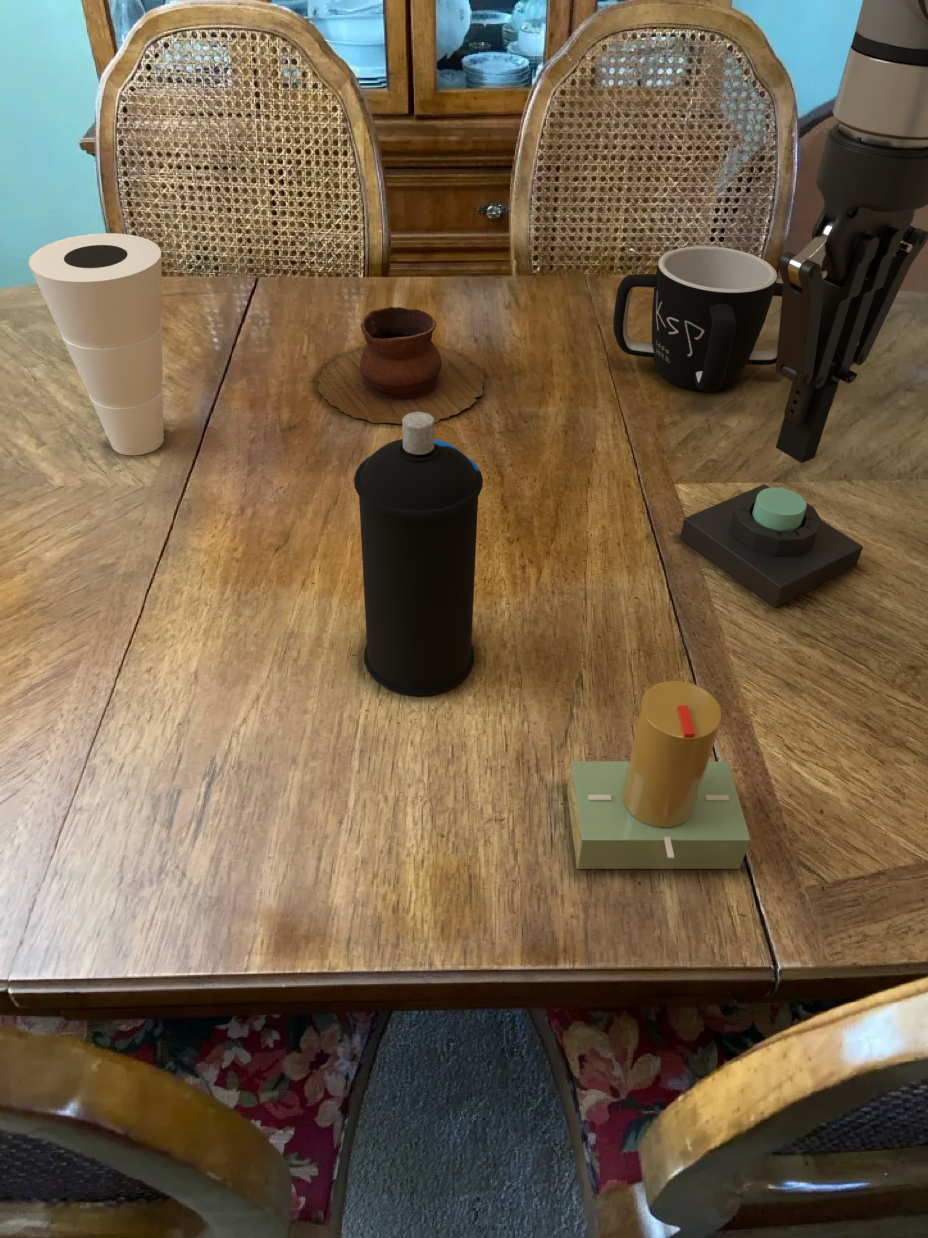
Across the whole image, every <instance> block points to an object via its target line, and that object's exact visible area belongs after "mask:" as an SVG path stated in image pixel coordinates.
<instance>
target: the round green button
mask: <svg viewBox="0 0 928 1238" xmlns="http://www.w3.org/2000/svg"><path fill="white" fill-rule="evenodd" d="M806 503H807V501H806V500H805V498H804V497H803V496H802V495H800V494H799V493H797V492H796V491H794V490H791V489H788V488H784V487H770V488H767V489H764V490H762V491H760V492H759V493H758V495H757V498H756V502H755V506H754V509H753V514H752V515H753V518H754V520H755V521H756V522H758V523H759V524H761V525H762V526H764V527H767V528H770V529H774V530H778V531H794V530H796V529H798V528H799V527H800V525H801V523H802V520H803V517H804V514H805V511H806V507H807V504H806Z"/></svg>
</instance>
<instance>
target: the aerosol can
mask: <svg viewBox="0 0 928 1238" xmlns="http://www.w3.org/2000/svg"><path fill="white" fill-rule="evenodd" d="M401 425H402V438H400V439H397V440H393V441H391V442H388V443H386V444H385V445H383V446H381V447H379V448H378V449H377V450H376V451H375V452H373V453H372V454H371V455H369V456H368V457H367V458H365V460H363V461H362V462H361V463H360V464H359V466H358V467H357V469H356V470H355V474H354V477H353V484H354V485H353V486H354V489H355V492H356V493H357V496H358V504H359V520H360V521H359V522H360V543H361V559H362V574H363V575H362V578H363V579H362V580H363V597H364V616H365V618H364V619H365V633H366V634H365V636H366V637H365V638H366V645H365V647H364V652H363V661H364V665H365V668H366V671H367V672H368V674H369V675H370V676H371V678H372V679H373V680H374V681H376V682H377V683H378V684H380V685H381V686H382V687H384V688H386V689H387V690H390V691H392V692H395V693H399V694H403V695H408V696H431V695H434V694H440V693H442V692H446V691H448V690H450V689H452V688H454V687H456V686H457V685H459V684H461V682H463V681H464V680H465V679H466V678H467V676H468V675H469V674H470V672H471V671H472V668H473V666H474V663H475V655H476V654H475V649H474V646H473V643H472V641H473V620H474V600H475V599H474V597H475V575H476V574H475V573H476V553H477V551H476V550H477V534H478V533H477V532H478V531H477V530H478V528H477V527H478V510H479V496H480V494H481V492H482V490H483V487H484V478H483V475H482V474H483V473H482V471H481V469H480V468H479V466H478V464H476V463H475V462H474V461H473V460H472V458H469V457H468V456H466V454H465V453H463V452H462V451H461V450H459V449H458V448H457V447H456V446H454V445H452V444H450V443H449V442H446V441H443V440H441V439H436V438H435V423H434V418H433V417H432V416H431V415H430V414H427V413H424V412H412V413H409V414H407V415H406V416H404V417H403V420H402V424H401Z"/></svg>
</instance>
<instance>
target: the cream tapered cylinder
mask: <svg viewBox="0 0 928 1238" xmlns="http://www.w3.org/2000/svg"><path fill="white" fill-rule="evenodd" d="M28 267H29V268H30V270H31V273H32V275H33V277H34V280H35V282H36V284H37V285H38V289H39V291H40V293H41V295H42V297H43V299H44V301H45V303H46V305H47V308H48V310H49V312H50V314H51V316H52V318H53V321H54V324H55V325H56V328H57V329H58V330H59V331H60V335H61V338H62V340H63V342H64V344H65V346H66V349H67V351H68V353H69V355H70V358H71V359H72V362H73V364H74V366H75V369H76V371H77V373H78V374H79V377H80V379H81V381H82V383H83V386H84V388H85V390H86V392H87V393H88V395H89V399H90V401H91V404H92V406H93V408H94V410H95V412H96V414H97V417H98V419H99V421H100V423H101V425H102V428H103V430H104V432H105V434H106V437H107V439H108V441H109V444H110V445H111V448H112V449H113V450H114V451H115V452H116V453H118V454H121V455H123V456H124V455H125V456H142V455H145V454H148V453H151V452H154V451H156V450H158V449H159V448H160V447H161V446H163V442H164V387H163V385H162V383H163V322H162V317H163V287H162V285H163V283H162V282H163V281H162V279H163V278H162V277H163V276H162V250H161V247H160V246H159V245H158V244H157V243H155V242H154V241H152V240H150V239H147V238H146V237H141V236H139V235H134V234H128V233H127V234H126V233H117V232H116V233H114V232H113V233H111V232H108V233H106V232H105V233H104V232H103V233H101V232H100V233H88V234H83V235H82V234H81V235H75V236H69V237H66V238H62V239H59V240H55V241H52V242H50V243H47V244H45V245H44V246H42V247H40V248H38V249H37V250H35V251H34V252H33V253H32V254H31V255H30V257H29V259H28Z"/></svg>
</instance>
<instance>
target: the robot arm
mask: <svg viewBox="0 0 928 1238" xmlns="http://www.w3.org/2000/svg"><path fill="white" fill-rule="evenodd" d="M854 31H855V32H854V35H853V38H852V41H851V45H850V46H849V49H848V53H847V57H846V60H845V65H844V68H843V71H842V75H841V79H840V83H839V87H838V90H837V94H836V97H835V101H834V104H833V108H832V115H833V117H834V119H835V120H836V121H837V123H836V124H835V125H833V126H832V128H830V129H829V130H828V131H827V134H826V138H825V143H824V147H823V150H822V155H821V158H820V162H819V166H818V168H817V169H818V170H817V173H816V177H815V178H816V179H815V184H816V187H817V189H818V190H819V191H820V193H821V195H822V198H823V202H824V203H823V207H822V209H821V212H820V214H819V216H818V218H817V220H816V221H815V223H814V225H813V227H812V230H811V241H809V243H808V244H807V245H806V246H805V247H804V248H803V249H801V250H800V252H799V253H798V254H796V253H794V252H792V251H789V250H788V251H786V252H784V253H783V254H782V256H781V257H780V259H779V263H778V269H779V272H780V276H781V281H782V283H783V294H782V297H781V306H780V315H779V317H780V318H779V329H778V337H777V343H778V348H777V359H776V363H775V372H776V373H777V374H778V375H780V376H782V377H784V378H785V379H788V380H789V381H791V382H792V383H791V387H790V390H789V393H788V397H787V401H786V405H785V408H784V412H783V413H784V416H783V420H782V424H781V426H780V431H779V434H778V438H777V442H776V444H775V448H776V449H777V450H779V451H780V452H782V453H784V454H785V455H787V456H789V457H791V458H792V459H794V460H795V461H796V462H799V463H800V464H803V463H806V462H808V461H811V460H814V459H815V457H816V454H817V452H818V448H819V445H820V442H821V440H822V436H823V433H824V430H825V427H826V423H827V420H828V418H829V417H828V416H829V414H830V411H831V408H833V407H832V406H833V403H834V400H835V397H836V394H837V391H838V388H839V384H840V381H842V382H844V383H846V384H847V385H848V384H852V383H853V382H854V381H855V380H856V378H857V377H858V375H859V373H856V372H854V371H852V370H851V367H852V366H853V365H857V366H861V365H863V364H864V363H865V362H866V361H867V359H868V357H869V354H870V353H871V350H872V348H873V346H874V344H875V343H876V339H877V337H878V336H879V333H880V331H881V330H882V328H883V325H884V323H885V320H886V318H887V317H888V314H889V312H890V311H891V308H892V306H893V304H894V301H895V300H896V297H897V296H898V293H899V291H900V289H901V287H902V285H903V282H904V281H905V278H906V276H907V275H908V272H909V270H910V269H911V266H912V264H913V263H914V261H915V260H916V259H917V257H918V256H919V254H920V253H921V251H922V250H923V248H924V246H925V245H926V243H927V242H928V230H926V229H922V228H921V227H917V226H915V225H914V224H913V220H914V218H915V213H916V212H915V211H917V210H921V209H923V208H925V207H927V206H928V0H862V2H861V7H860V9H859V13H858V18H857V22H856V26H855V30H854Z"/></svg>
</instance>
